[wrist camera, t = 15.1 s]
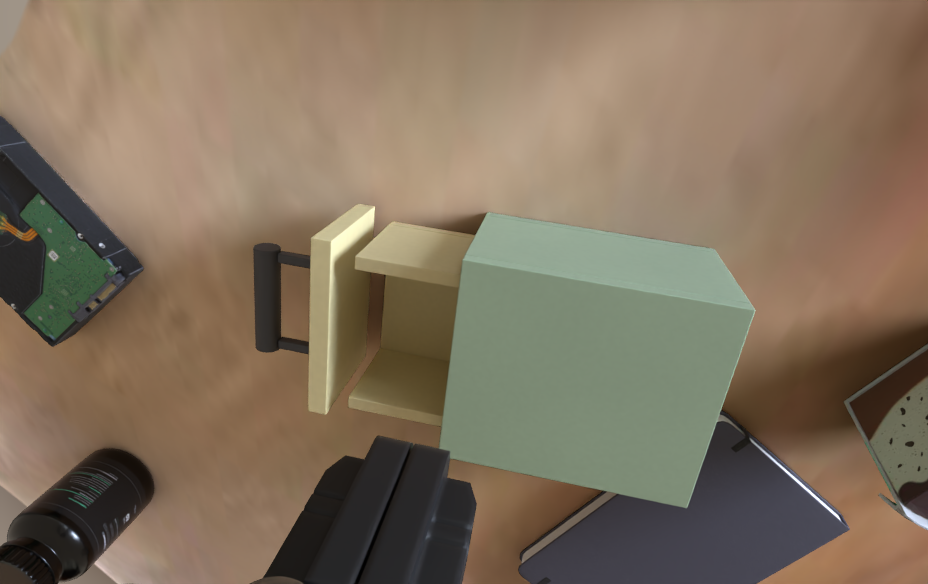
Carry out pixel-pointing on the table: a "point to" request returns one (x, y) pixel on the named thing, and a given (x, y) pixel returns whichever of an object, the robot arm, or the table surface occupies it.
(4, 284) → the disk drive
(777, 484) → the notebook
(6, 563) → the supplement bottle
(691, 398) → the cabinet
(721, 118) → the table surface
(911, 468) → the food container
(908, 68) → the table surface
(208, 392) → the table surface
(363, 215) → the drawer
